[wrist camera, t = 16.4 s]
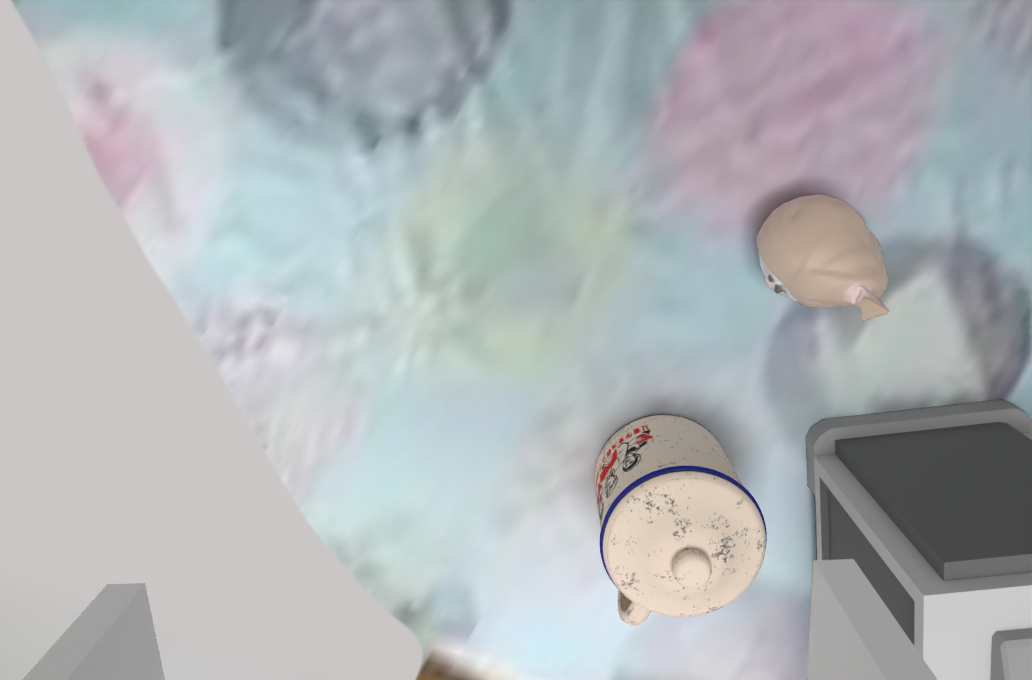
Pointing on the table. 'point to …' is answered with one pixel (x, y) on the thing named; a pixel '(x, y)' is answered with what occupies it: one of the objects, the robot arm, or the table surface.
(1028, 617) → the alarm clock
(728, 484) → the teacup with lid
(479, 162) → the table surface
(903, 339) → the table surface
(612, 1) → the table surface
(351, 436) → the table surface
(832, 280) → the garlic bulb
